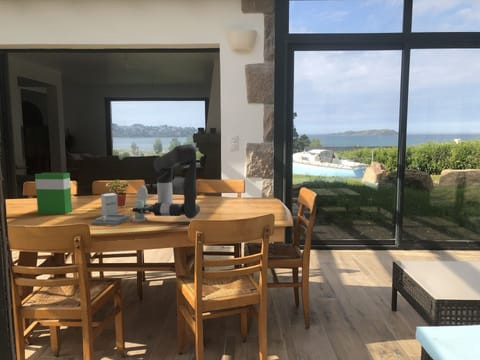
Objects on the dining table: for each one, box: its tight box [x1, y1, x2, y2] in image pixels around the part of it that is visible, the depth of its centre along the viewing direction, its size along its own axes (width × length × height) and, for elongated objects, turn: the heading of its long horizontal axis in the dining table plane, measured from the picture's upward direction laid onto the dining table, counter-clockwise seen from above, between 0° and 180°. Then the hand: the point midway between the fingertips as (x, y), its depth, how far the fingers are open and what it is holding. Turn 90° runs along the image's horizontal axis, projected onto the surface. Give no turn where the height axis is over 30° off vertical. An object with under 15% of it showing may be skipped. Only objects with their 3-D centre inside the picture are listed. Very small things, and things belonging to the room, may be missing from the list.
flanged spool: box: [131, 199, 148, 223], centre depth 223 cm, size 8×8×11 cm
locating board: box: [91, 213, 132, 227], centre depth 220 cm, size 18×14×4 cm
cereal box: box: [34, 172, 73, 215], centre depth 242 cm, size 18×7×24 cm, turn 84°
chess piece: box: [133, 185, 149, 208], centre depth 252 cm, size 10×10×15 cm
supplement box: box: [100, 192, 119, 216], centre depth 235 cm, size 7×7×13 cm
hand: (136, 208), depth 223 cm, fingers open, 8 cm apart
